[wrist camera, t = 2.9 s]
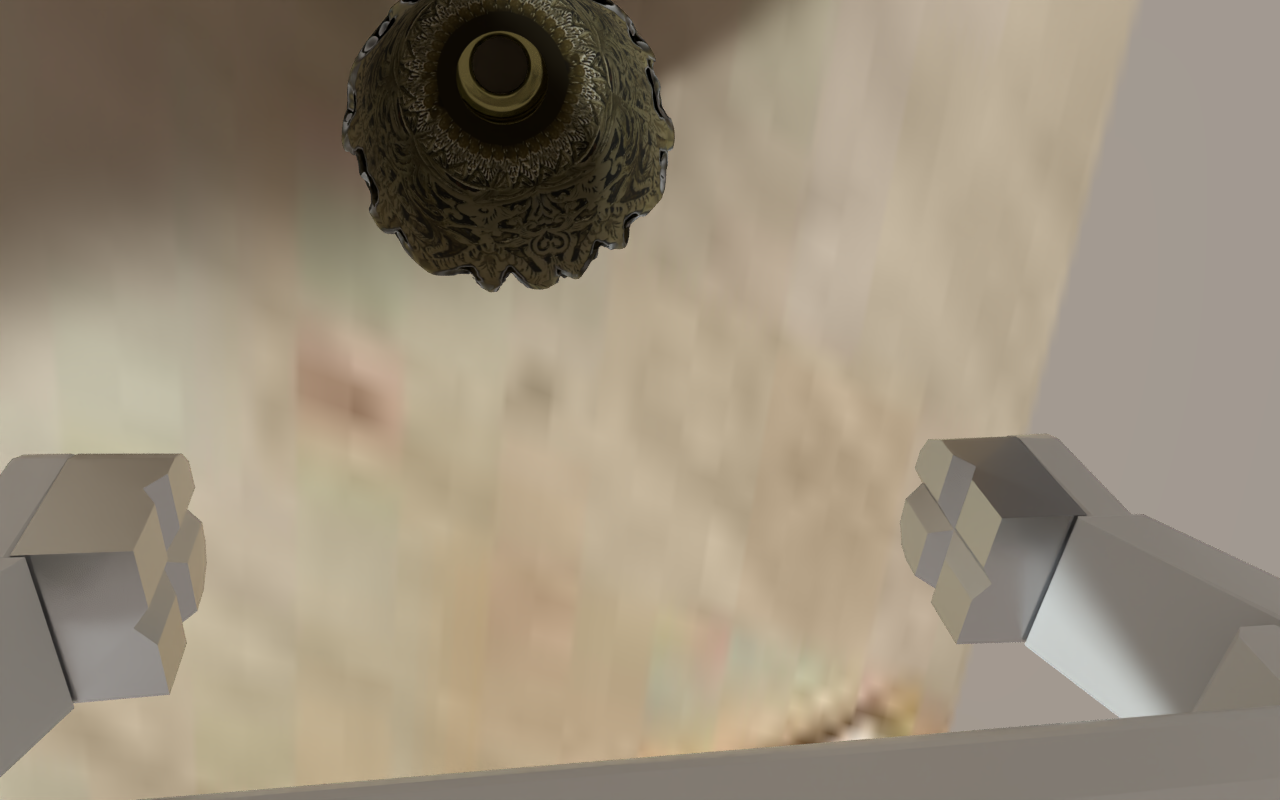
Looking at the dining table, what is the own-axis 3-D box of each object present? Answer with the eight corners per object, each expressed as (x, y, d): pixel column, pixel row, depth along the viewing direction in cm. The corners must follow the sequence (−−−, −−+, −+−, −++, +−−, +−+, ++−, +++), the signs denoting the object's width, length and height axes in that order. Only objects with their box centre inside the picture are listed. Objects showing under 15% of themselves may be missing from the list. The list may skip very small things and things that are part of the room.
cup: (643, 156, 30) (697, 254, 23) (418, 210, 30) (408, 326, 23) (593, -102, 26) (641, -71, 19) (332, -42, 26) (289, 11, 19)
